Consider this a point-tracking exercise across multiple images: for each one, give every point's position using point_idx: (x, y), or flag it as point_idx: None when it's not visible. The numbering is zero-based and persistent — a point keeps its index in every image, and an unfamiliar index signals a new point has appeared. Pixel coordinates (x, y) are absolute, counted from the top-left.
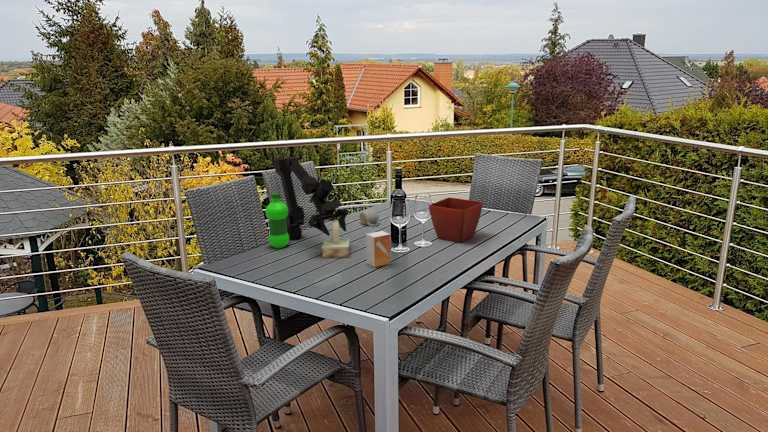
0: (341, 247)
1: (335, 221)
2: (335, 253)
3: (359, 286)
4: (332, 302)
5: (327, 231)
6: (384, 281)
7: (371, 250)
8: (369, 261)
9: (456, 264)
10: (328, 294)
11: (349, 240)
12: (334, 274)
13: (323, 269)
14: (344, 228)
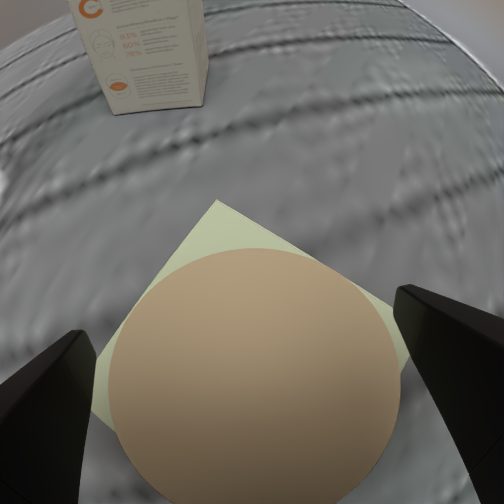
0: (267, 231)
1: (260, 348)
2: None
3: (340, 16)
4: (420, 17)
5: (444, 301)
6: (260, 5)
7: (200, 14)
8: (203, 76)
9: (38, 38)
10: (426, 36)
11: (97, 360)
12: (391, 96)
13: (424, 163)
14: (73, 355)
